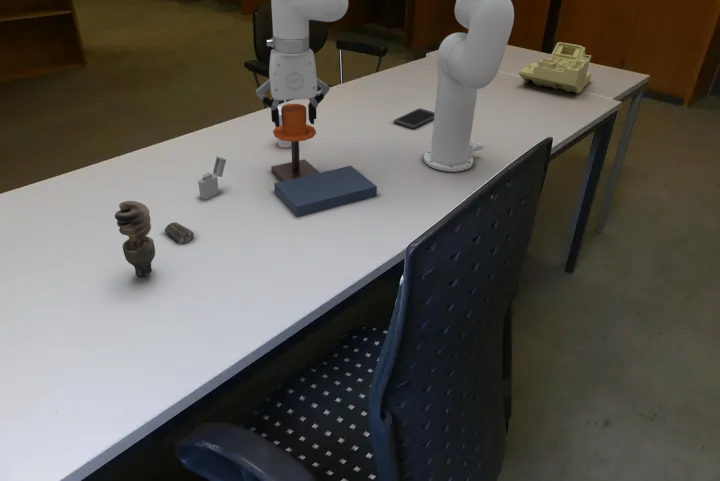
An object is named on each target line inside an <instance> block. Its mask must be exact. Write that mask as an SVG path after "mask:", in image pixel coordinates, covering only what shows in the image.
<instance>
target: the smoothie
mask: <svg viewBox="0 0 720 481" xmlns="http://www.w3.org/2000/svg"><path fill="white" fill-rule="evenodd" d="M283 102H284V105H287V104H288V103H287V100H283ZM284 105H278V106H277V108H278V110H279V126H280V125H282V114H281V108H282V106H284ZM273 123H274V129H275V128H276V125H275V122H273ZM276 139H277V145H278V147H279V148H283V149H289V148H291V141H284V140H280V139H278V138H276Z"/></svg>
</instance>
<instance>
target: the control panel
mask: <svg viewBox="0 0 720 481" xmlns="http://www.w3.org/2000/svg"><path fill="white" fill-rule="evenodd" d="M592 56H593V55H592V54H590V55H589V54H586V47H585V46H583V45H579V44H574V43H569V42H561V41H558V42H557V43H556V45H555V47H554V49H553V51H552V52H551V54H550V55H549V56H548V57H547V58H544V57H543V58H541V59H539V60H538V62H535V61H534V62H531V63H529V64H527V66H526V67H523V68H522V69H521V70H519V71H518V75H519V76H520V78H521V79H522V80H523V82H524V83H528V82H533V84H534V85H537V86H541V87H548V88H552V89H555V90H558V89H562V90H563V91H564V92H567V93H571V92H572V93H575V94H577V95H578V94H580V93H581V92H582V91H583V90H584V87H586V86H587V85H588V84H589V83H590V80H591V76H592V72H590V71H588V70H589V65H590V62H591V59H592Z"/></svg>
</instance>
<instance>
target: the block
mask: <svg viewBox="0 0 720 481" xmlns="http://www.w3.org/2000/svg"><path fill="white" fill-rule="evenodd" d="M164 233H166V234H167V235H168V236H169V237H170V238H172V240H174V241H175V242H176V243H177V244H179V245H181V244H185V243H188V242H190V241H192V239H193V237H194V232H193V231H192V230H190V229H189V228H187V227H185V226H183V225H182V224H181V223H179V222H176V221H175V222H171V223H169V224H168V225H167V226H166V227H165V228H164Z"/></svg>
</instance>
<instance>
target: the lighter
mask: <svg viewBox="0 0 720 481" xmlns="http://www.w3.org/2000/svg"><path fill="white" fill-rule="evenodd" d="M226 164H227V159H226V158H225V157H222V156H216V157H215V162H214V166H213V170H212V173H211V172H207V173H204V174H202V178H200V179H198V180H197V183H198V190H199V191H198V192H199V198H200V199H202V200H204V201H206V200H209V199H211V198H213V197H216V196H217V195H219V194H220V190H219V181H218V177H220V178H222V177H223V174H224V170H225V166H226Z"/></svg>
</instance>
